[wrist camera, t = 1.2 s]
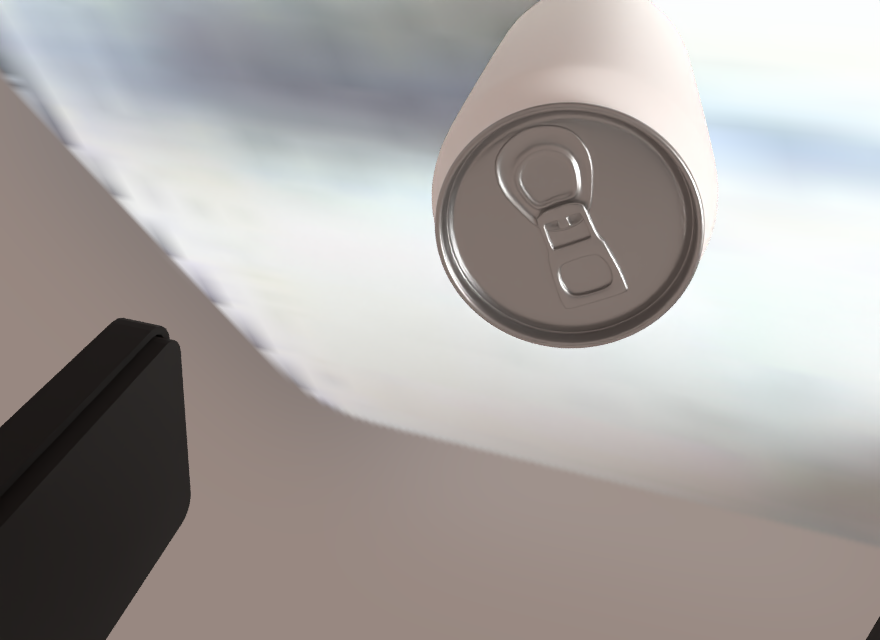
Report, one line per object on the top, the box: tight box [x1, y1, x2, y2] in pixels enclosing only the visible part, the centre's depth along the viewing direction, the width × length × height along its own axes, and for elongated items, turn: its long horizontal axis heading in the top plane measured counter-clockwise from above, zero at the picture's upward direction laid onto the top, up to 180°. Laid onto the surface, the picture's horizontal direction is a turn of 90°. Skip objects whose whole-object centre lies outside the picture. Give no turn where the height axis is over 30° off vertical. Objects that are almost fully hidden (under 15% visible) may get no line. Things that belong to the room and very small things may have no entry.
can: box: [432, 0, 718, 348], centre depth 22 cm, size 6×6×12 cm
